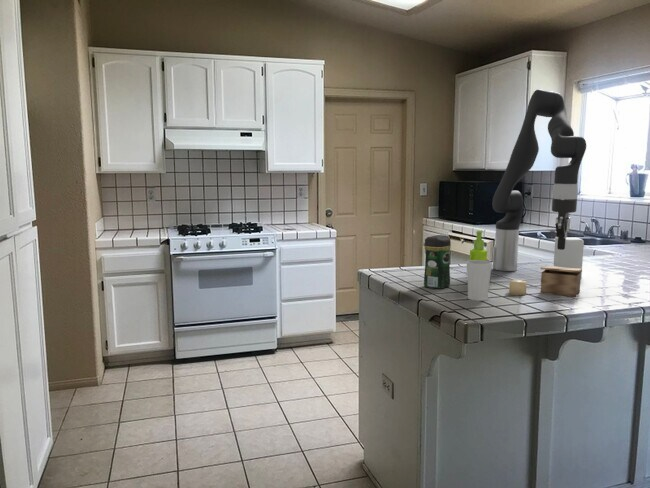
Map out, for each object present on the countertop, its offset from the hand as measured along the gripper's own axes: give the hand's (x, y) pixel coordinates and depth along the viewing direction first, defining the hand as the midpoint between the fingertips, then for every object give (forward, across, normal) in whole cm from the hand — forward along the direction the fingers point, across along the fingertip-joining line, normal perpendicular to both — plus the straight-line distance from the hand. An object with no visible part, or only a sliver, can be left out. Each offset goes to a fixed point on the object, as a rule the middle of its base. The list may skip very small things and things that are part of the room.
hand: (561, 249), depth 180 cm
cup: (+15, +22, -21) cm, 34 cm away
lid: (+8, -2, 0) cm, 8 cm away
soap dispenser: (+16, +3, -27) cm, 31 cm away
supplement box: (+16, -36, -3) cm, 39 cm away
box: (+15, -2, 0) cm, 15 cm away
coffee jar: (+16, +12, -39) cm, 43 cm away
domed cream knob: (+15, +7, -12) cm, 20 cm away
